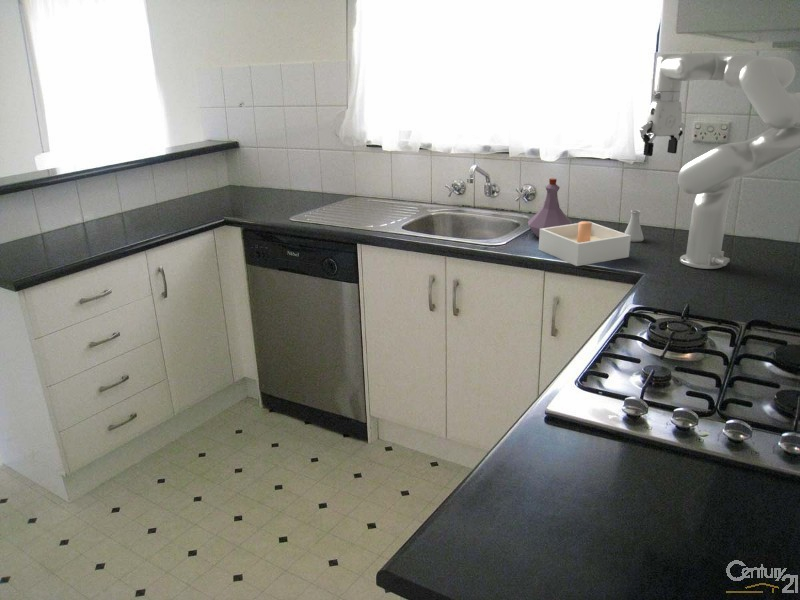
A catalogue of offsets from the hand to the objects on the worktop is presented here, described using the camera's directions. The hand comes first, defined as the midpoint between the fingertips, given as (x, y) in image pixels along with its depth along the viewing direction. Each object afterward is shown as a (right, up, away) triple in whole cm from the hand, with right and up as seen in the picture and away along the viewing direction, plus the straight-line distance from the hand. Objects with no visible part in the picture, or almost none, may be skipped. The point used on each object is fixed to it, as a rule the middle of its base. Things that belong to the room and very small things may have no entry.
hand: (659, 154), depth 211 cm
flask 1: (-29, -23, +27) cm, 45 cm away
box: (-22, -30, +6) cm, 38 cm away
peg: (-22, -31, +6) cm, 38 cm away
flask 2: (-2, -25, +20) cm, 32 cm away
